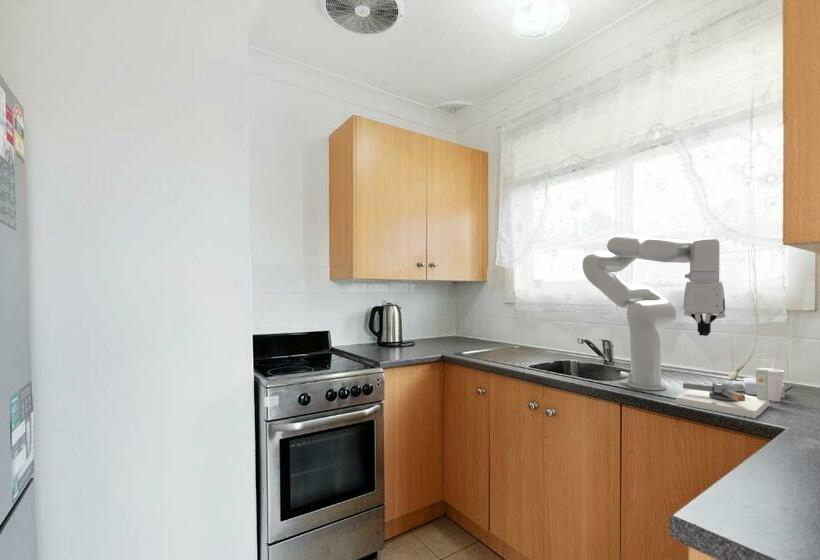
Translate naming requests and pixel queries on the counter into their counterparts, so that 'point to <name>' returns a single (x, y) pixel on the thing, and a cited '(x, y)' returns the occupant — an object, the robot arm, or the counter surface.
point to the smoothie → (775, 382)
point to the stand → (742, 408)
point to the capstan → (719, 390)
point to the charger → (752, 386)
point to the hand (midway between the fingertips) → (704, 335)
